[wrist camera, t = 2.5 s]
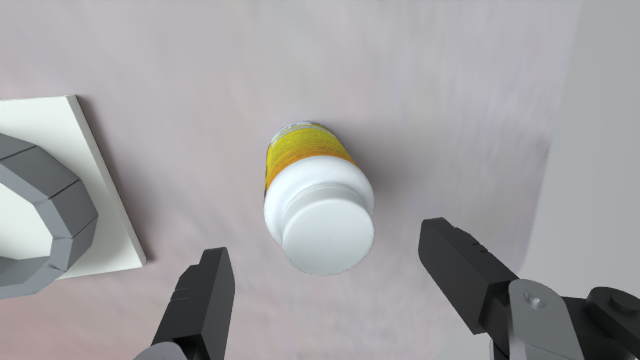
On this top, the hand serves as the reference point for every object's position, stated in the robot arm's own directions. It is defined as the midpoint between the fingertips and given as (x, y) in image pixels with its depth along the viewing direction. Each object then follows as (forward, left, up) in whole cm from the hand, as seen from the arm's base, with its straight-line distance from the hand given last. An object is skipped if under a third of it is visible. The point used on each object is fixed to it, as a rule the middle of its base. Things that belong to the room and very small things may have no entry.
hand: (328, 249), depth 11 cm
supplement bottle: (0, 0, -11) cm, 11 cm away
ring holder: (+1, -20, -11) cm, 22 cm away
